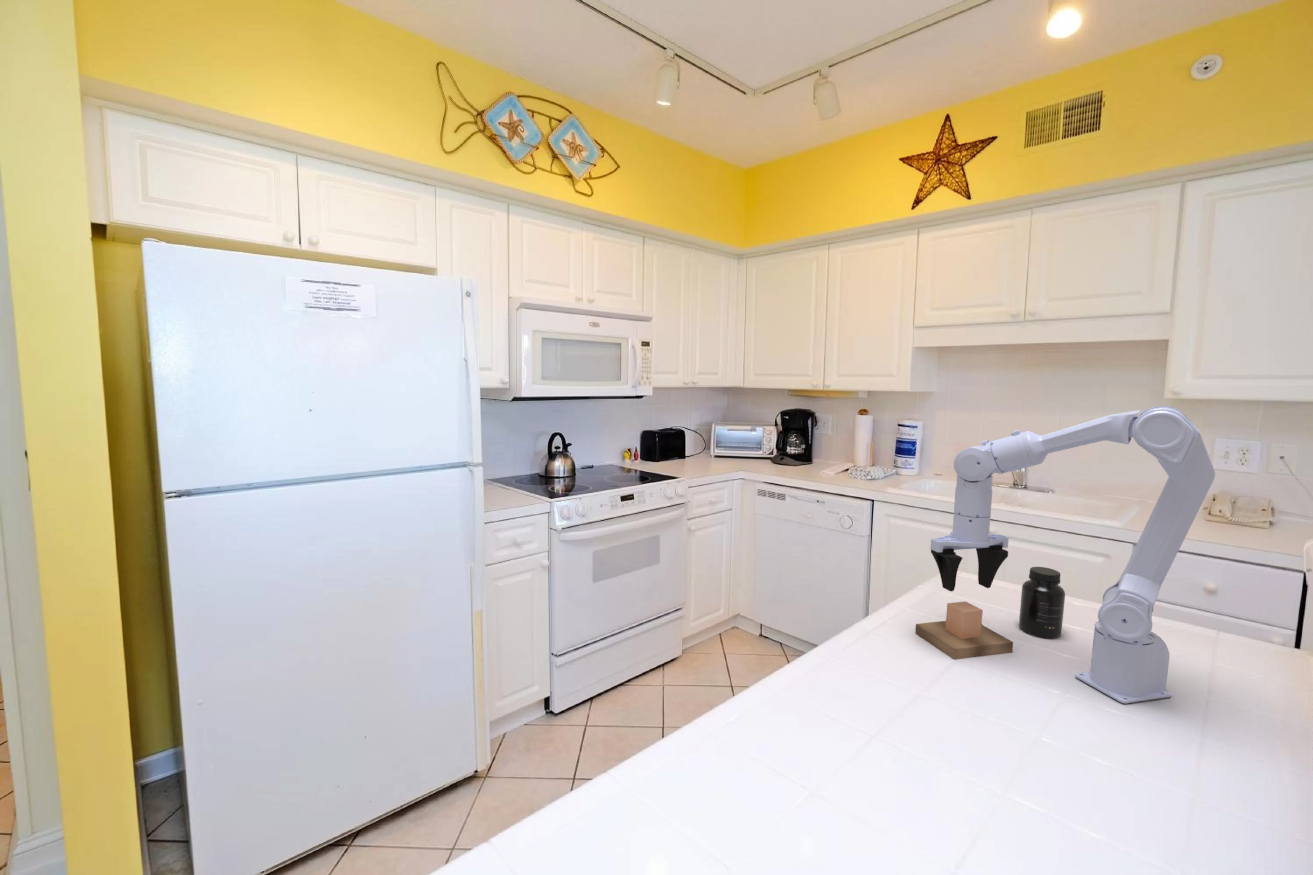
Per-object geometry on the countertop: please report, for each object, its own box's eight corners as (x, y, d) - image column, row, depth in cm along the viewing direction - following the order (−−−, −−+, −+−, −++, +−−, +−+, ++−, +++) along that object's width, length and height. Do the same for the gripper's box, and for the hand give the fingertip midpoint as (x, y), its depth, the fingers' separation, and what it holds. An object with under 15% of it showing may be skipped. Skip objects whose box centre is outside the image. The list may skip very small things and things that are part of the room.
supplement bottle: (1011, 622, 113) (1016, 563, 112) (1049, 624, 113) (1054, 565, 111) (1029, 638, 107) (1034, 575, 105) (1069, 640, 106) (1075, 577, 104)
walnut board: (969, 630, 111) (970, 618, 111) (1012, 655, 101) (1013, 641, 101) (915, 636, 108) (915, 623, 108) (953, 662, 99) (954, 648, 98)
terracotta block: (963, 627, 107) (965, 601, 106) (980, 636, 103) (982, 609, 102) (945, 629, 106) (947, 603, 105) (961, 639, 102) (964, 612, 101)
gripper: (989, 506, 107) (983, 576, 109) (921, 510, 104) (916, 582, 106) (1020, 516, 101) (1014, 590, 102) (948, 520, 97) (943, 597, 99)
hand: (966, 587), depth 104 cm, fingers open, 7 cm apart
